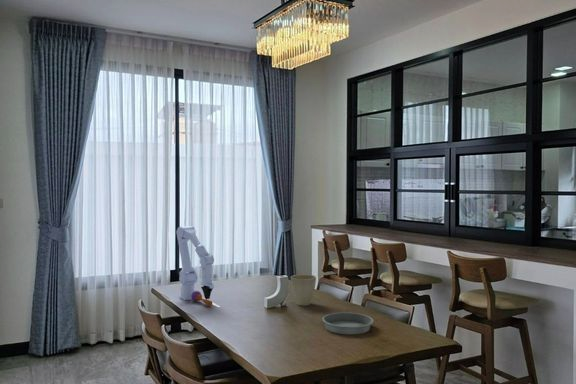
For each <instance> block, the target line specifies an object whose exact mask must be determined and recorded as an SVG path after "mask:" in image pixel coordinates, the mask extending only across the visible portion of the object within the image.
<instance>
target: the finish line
mask: <svg viewBox="0 0 576 384" xmlns="http://www.w3.org/2000/svg"><path fill="white" fill-rule="evenodd" d="M202 298H203V299H205V297H202ZM206 300H208V299H206ZM212 306H214V307H216V308H221V306H220V305H218V304H216V303H214V302H213V301H212Z"/></svg>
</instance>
